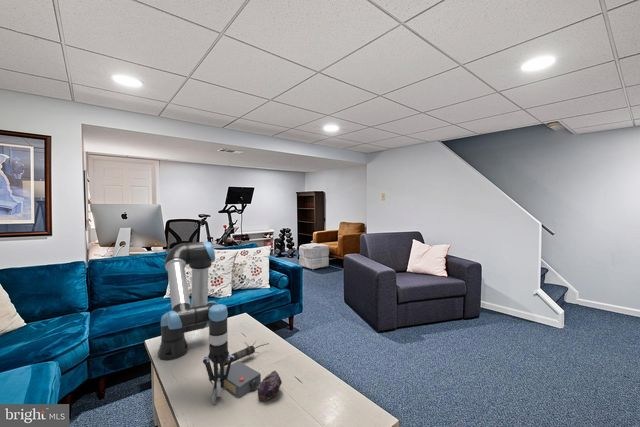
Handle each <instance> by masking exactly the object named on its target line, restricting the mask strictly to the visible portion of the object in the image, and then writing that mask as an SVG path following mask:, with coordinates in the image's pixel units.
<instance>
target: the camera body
mask: <svg viewBox="0 0 640 427" xmlns="http://www.w3.org/2000/svg"><path fill="white" fill-rule="evenodd" d="M226 370H227V367H226V366H225V367H224V375H225V374H226ZM218 378H220V370H218ZM261 382H262V376H261V372H259V371H257V370H255V369H253V368H252V367H250V366H249V365H246V364H244V363H243V362H241V361H240V360H237V361H235V362H233V363H231V366H230V370H229V375H228V378H227V379H226V380H224V387H223V388H224V389H226V391H229V392H230V393H231V394H233V395H234V396H236V397H237V398H238V399H240V398H242V397H244V396H246V395H247V394H248V393H249V392H250V391H252V390H255V389H258V386H259V385H260V383H261Z"/></svg>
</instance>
